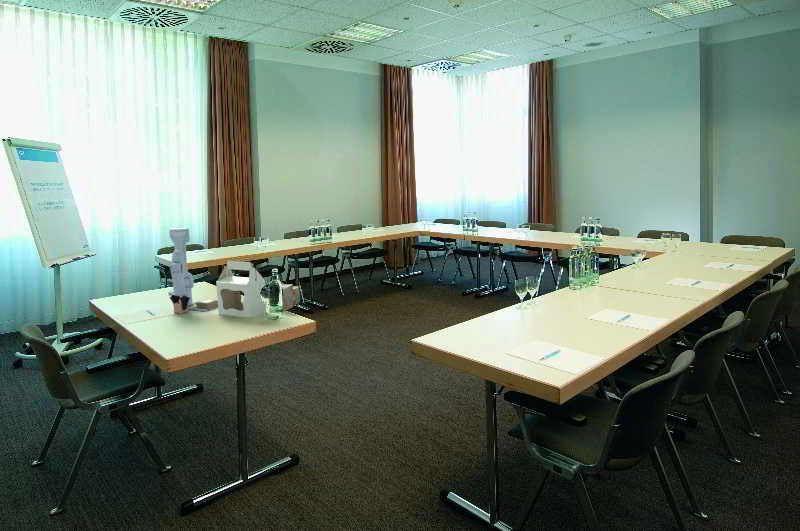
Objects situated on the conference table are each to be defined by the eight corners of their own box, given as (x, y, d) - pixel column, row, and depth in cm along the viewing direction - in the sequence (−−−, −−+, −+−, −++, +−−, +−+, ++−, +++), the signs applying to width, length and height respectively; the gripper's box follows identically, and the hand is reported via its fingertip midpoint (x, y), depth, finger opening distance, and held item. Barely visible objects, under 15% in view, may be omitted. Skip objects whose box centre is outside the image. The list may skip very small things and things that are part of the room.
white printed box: (290, 302, 310) (289, 281, 308) (300, 302, 308) (299, 281, 307) (274, 311, 289) (273, 288, 287) (285, 311, 288) (284, 288, 286)
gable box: (267, 312, 286) (264, 260, 281) (250, 318, 274) (246, 264, 270) (236, 308, 296) (232, 258, 291) (218, 314, 284) (214, 262, 280)
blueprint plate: (188, 310, 295) (187, 303, 295) (209, 303, 310) (209, 297, 309) (204, 311, 290) (204, 305, 290) (225, 305, 305) (225, 298, 304)
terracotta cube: (174, 312, 290) (173, 303, 289) (181, 310, 294) (180, 301, 293) (181, 313, 288) (180, 304, 287) (188, 311, 292) (187, 302, 291)
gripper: (162, 285, 288) (165, 309, 290) (183, 286, 282) (185, 312, 284) (173, 282, 294) (175, 306, 296) (193, 284, 288) (195, 309, 290)
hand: (180, 309), depth 291 cm, fingers closed on terracotta cube, 5 cm apart
